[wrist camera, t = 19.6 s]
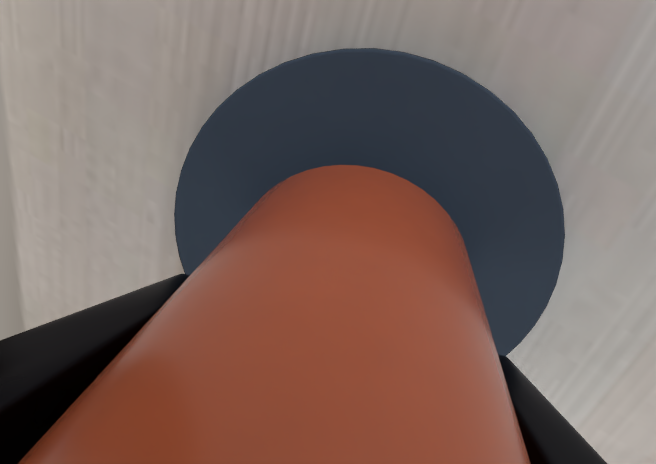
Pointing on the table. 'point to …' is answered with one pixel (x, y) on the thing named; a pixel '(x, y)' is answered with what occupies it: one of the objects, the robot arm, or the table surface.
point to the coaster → (387, 164)
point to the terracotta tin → (309, 345)
